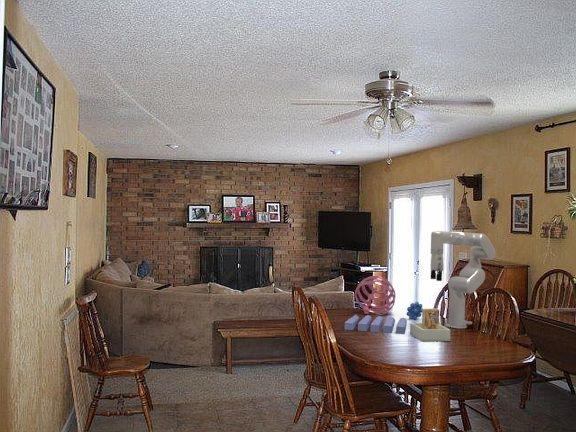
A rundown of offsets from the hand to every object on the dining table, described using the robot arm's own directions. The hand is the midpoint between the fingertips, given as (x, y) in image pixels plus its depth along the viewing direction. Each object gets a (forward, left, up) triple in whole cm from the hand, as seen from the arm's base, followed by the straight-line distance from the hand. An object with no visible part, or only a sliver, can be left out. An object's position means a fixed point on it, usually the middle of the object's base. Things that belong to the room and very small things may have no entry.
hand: (436, 279), depth 344 cm
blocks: (+34, -8, -31) cm, 47 cm away
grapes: (+1, -35, -31) cm, 46 cm away
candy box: (+12, +24, -30) cm, 40 cm away
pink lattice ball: (+22, -55, -31) cm, 67 cm away
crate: (+12, +24, -30) cm, 40 cm away
